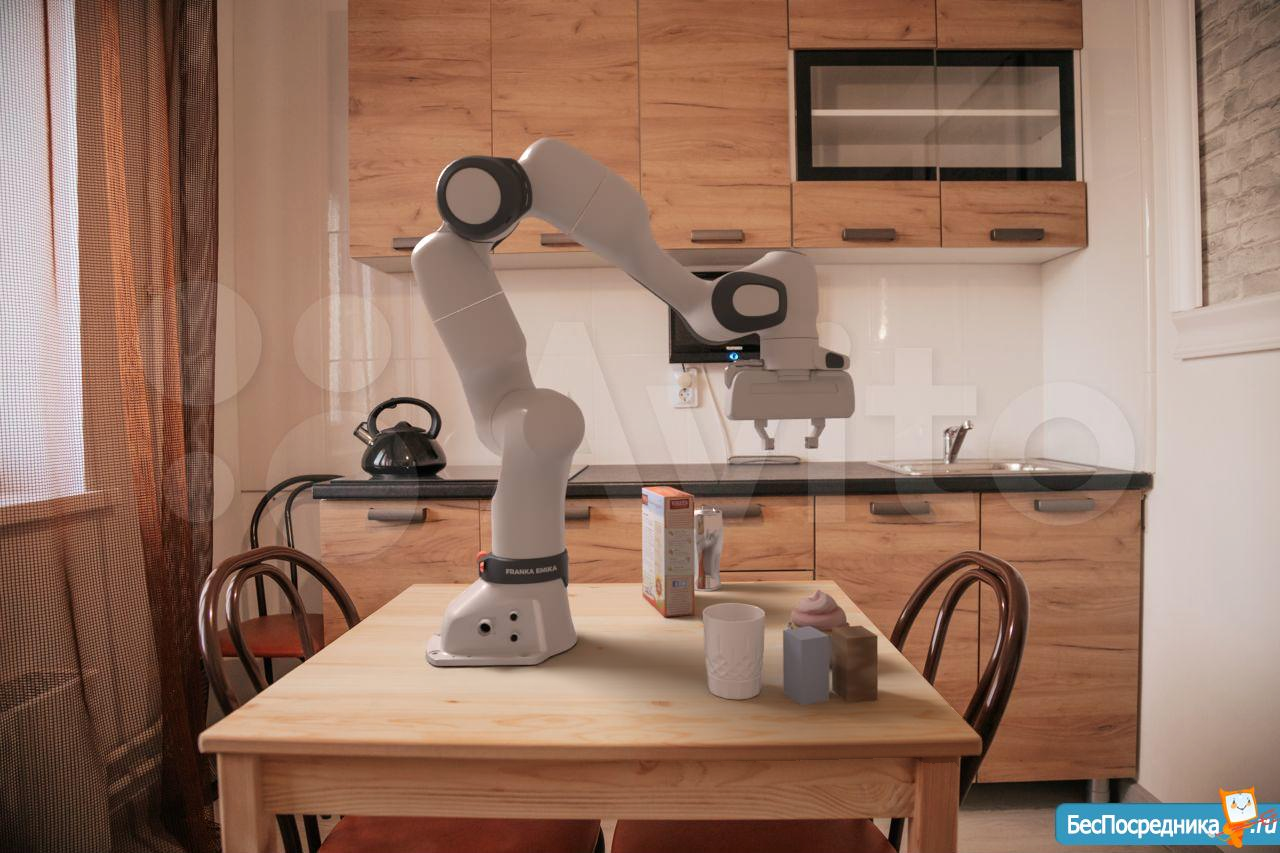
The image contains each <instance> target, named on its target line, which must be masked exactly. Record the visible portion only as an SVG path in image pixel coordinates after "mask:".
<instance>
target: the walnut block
mask: <svg viewBox="0 0 1280 853" xmlns="http://www.w3.org/2000/svg"><path fill="white" fill-rule="evenodd" d="M878 637H879V636H878V634H875V633H873V632H872V631H870V630H869V629H867V628H866V627H864V626H863V625H852V626H850V625H849V627H837V628H832V666H831V681H832V682H831V686H832V687H831V689H832V691H833V692H834V693H835V694H836V695H837V696H838V697H839V698H840V699H842V700H843V701H844V702H845V703H846V704H854V703H863V702H864V703H865V702H873V701H874V702H875V701H878V697H879V696H878V690H879V689H878V687H879V686H878V684H879V683H878V677H879V676H878V674H879V673H878V668H879V667H878V665H879V664H878V656H879V655H878V647H879V646H878V643H879V642H878V640H879V638H878Z"/></svg>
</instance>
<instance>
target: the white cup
mask: <svg viewBox="0 0 1280 853" xmlns="http://www.w3.org/2000/svg"><path fill="white" fill-rule="evenodd" d="M702 624H703V625H702V626H703V643H704V656H705V668H706V677H707V679H706V680H707V687H708V690H709V692H710V693H711V694H713V695H715V696H717V697H719V698H722V699H727V700H739V701H740V700H747V699H751V698H754V697H755V696H758V695H759V694H760V692H761V690H762V677H763V675H762V674H763V673H762V671H763V666H764V652H765V649H764V648H765V629H766V626H765V624H766V612H765V611H764V610H763V609H762V608H761V607H758V606H756V605H752V604H746V603H739V602H724V603H716V604H712V605H709V606H706V607H705V608H703V609H702Z"/></svg>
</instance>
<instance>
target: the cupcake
mask: <svg viewBox="0 0 1280 853" xmlns="http://www.w3.org/2000/svg"><path fill="white" fill-rule="evenodd" d="M846 615H847V614H846V612H845V610H843V608H842V607H841V606H839V605H838V604H837V601H836V600H835V599H834V598H833V597H832V596H831V595H829V594H828V593H825V592H823V591H821V590H820V589H816V590H815V591H814V593H813V595H812V596H811V597H806V598H804V599H801V601H800V602H798V605H797V606H796V608H795V609H793V610H792V611H791V614H790V621H788V622H786V623H785V625H786V627H787V629H794V628H800V627H807V626H811V627H813V628H815V629H817V630H819V631H821V632H823V633H825V634H827V635H829V667H832V628H837V627H849V626H850V622H847V616H846Z"/></svg>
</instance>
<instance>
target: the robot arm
mask: <svg viewBox="0 0 1280 853" xmlns="http://www.w3.org/2000/svg"><path fill="white" fill-rule="evenodd" d="M435 187H436V188H435V204H436V209H437V211H438V213H439V215H440V218H441V219H442V224H441V226H440V227H439V228H438V229H437V230H436V231H434V232H432V233H430V234H428V235H427V236H426V235H425V236H424V237H423V238H422V239H421V240H420V241H419V242H418V243H417V244H416V246H414V248H413V250H412V253H411V254H410V255H411V257H410V264H411V269H412V272H413V274H414V279H415V282H416V285H417V287H418V291H419V293H420V297H421V299H422V301H423V303H424V305H425V308H426V311H427V313H428V314H429V317H430V319H431V322H433V325H434V327H435V329H436V331H437V333H438V335H439V337H440V339H441V342H442V343H443V345H444V347H445V348H446V351H447V353H448V355H449V358H450V359H451V361H452V363H453V365H454V367H455V370H456V372H457V374H458V376H459V379H460V383H461V385H462V389H463V392H464V396H465V398H466V401H467V402H466V403H467V404H468V407H469V411H470V413H471V415H472V419H473V422H474V429H475V434H476V436H477V438H478V439H479V441H480V442H481V443H482V444H483V446H484V447H485V448H486V449H488V450H489V451H490V452H491V453H492V454H494V455H496V456H497V457H501V461H500V462H501V463H500V470H499V475H498V481H497V487H496V490H495V493H494V495H493V496H492V498H491V504H490V509H491V510H490V512H491V515H490V516H491V520H490V521H491V552H488V551H485V550H481V551H479V552H478V553H477V555H476V563H477V564H478V579H476V580H475V581H474V582H473V583H472V584H471V585H469V586H468V587H467V588H465V590H463V591H462V592H460V594H458V595H457V596H456V597H455V598H453V599H452V600H451V601H450V602H449V604H448V606H447V607H446V608H445V611H444V615H443V617H442V621H441V627H440V628H441V629H440V630H439V631H437V632H436V633H434V634H433V635H432V636H431V637H430V638H429V640H428V642H427V643H426V647H425V648H426V649H425V658H426V660H427V661H428V662H429V663H430V664H431V665H432V666H437V667H439V666H440V667H444V666H445V667H447V666H448V667H449V666H515V665H516V666H520V665H522V666H523V665H524V666H525V665H529V666H532V665H537V664H541V663H542V662H544V661H545V660H547V659H549V658H550V657H551V656H555V655H557V654H560V653H563V652H565V651H567V650H569V649H571V648H572V647H573V646H575V644H576V643H577V642H578V636H577V635H578V634H577V633H576V630H575V627H574V622H573V618H572V612H571V607H570V601H569V594H568V586H569V581H570V558H569V557H570V556H569V553H568V550H567V548H566V525H565V523H566V522H565V519H566V518H565V515H566V514H565V513H566V511H565V510H566V508H565V507H566V506H565V505H566V494H567V487H568V483H569V477H570V472H571V468H572V465H573V464H572V463H573V459H574V456H575V454H576V452H577V450H578V449H579V448H580V445H581V444H582V442H583V440H584V437H585V432H586V422H585V418H584V417H585V416H584V415H583V412H582V410H581V408H580V406H579V405H578V404H577V403H576V402H575V401H574V399H572V398H570V397H569V396H567V395H565V394H563V393H561V392H559V391H556V390H555V389H551V388H546V387H544V388H543V387H542V388H541V387H540V388H537V387H536V385H535V384H534V382H533V378H532V375H531V371H530V366H529V362H528V357H527V339H526V336H525V334H524V332H523V330H522V328H521V326H520V324H519V322H518V319H517V317H516V315H515V312H514V311H513V309H512V306H511V305H510V302H509V300H508V299H507V296H506V293H505V292H504V290H503V288H502V286H501V283H500V281H499V279H498V277H497V275H496V273H495V271H494V268H493V264H492V261H491V252H493V250H494V249H495V248H496V247H497V246H499V245H500V244H501V243H502V242H503V241H504V240H506V239H507V238H508V237H510V236H511V234H513V233H514V231H515V230H516V228H517V227H518V225H519V224H520V222H521V220H523V219H524V220H525V219H528V218H535V219H537V220H538V219H539V220H540V221H541V220H542V221H544V222H546V223H548V224H549V225H551V226H553V227H554V228H556V229H557V230H559V231H560V232H561V233H563V234H564V235H565V236H567V237H569V238H570V239H571V240H573V241H574V242H576V243H577V244H579V245H580V246H582V247H584V248H585V249H587V250H588V251H590V252H592V253H593V254H595V255H596V256H598V257H600V258H602V259H603V260H605V261H606V262H608V263H610V264H611V265H613V266H615V267H616V268H618V269H620V271H623V272H624V273H625V274H627V275H628V276H629V277H631V279H633V280H634V281H635V282H637V283H638V284H639V285H640V286H642V287H644V288H645V289H646V290H648V291H649V292H650V293H651V294H653V295H654V296H656V298H658V299H659V300H661V301H662V303H665V304H666V305H667V306H669V308H671V309H672V310H673V311H674V312H675V313H676V314H677V316H678V317H679V319H680V321H681V322H682V323H683V325H684V326H685V328H686V330H687V331H688V333H690V334H691V336H692V337H694V338H693V339H695V340H697V341H699V342H700V343H702V344H705V345H709V346H720V345H725V344H727V343H728V342H730V341H732V340H736V339H738V338H739V339H740V338H742V337H745V336H749V335H752V334H757V335H758V336H759V340H760V341H759V343H760V344H759V346H760V350H759V352H760V354H759V355H760V356H759V357H760V358H759V359H747V360H745V359H736V360H735V359H734V360H733V362H730V363H729V364H727V366H726V367H725V369H724V384H725V387H726V390H725V395H724V396H725V397H724V398H725V399H724V409H723V410H724V415H725V417H726V418H727V420H729V421H753V428H754V429H755V431H756V433H757V434H758V436H759V438H760V440H761V441H760V442H761V443H760V444H761V449H762V451H773V450H775V438H773V437H769V435H768V432H767V430H766V429H765V428H768V421H769V420H770V421H772V420H773V421H774V420H775V421H776V420H810V422H811V423H810V425H811V426H814V427H813V429H812V431H811V433H810V434H809V436H805V437H804V442H805V443H804V448H805V449H808V450H811V449H817V450H818V448H819V438H820V436H821V435H822V434H823V431H824V429H825V427H826V420H828V419H850V418H852V416H853V414H854V413H855V410H856V398H855V387H854V381H853V378H852V376H851V374H850V373H849V372H848V371H847V370H848V369H850V367H851V366H850V365H851V359H850V356H848V355H846V354H842V353H840V352H838V351H834V350H831V349H828V348H825V347H822V346H820V342H819V341H820V336H819V333H818V329H817V318H818V315H819V312H820V311H819V308H820V307H819V304H820V303H819V298H820V297H819V282H818V281H819V280H818V276H817V275H818V274H817V270H816V269H817V268H816V266H815V264H814V262H813V260H812V259H811V257H809V256H807V255H806V254H805V253H801V252H798V251H794V250H789V249H788V250H780V249H779V250H772V251H769V252H767V253H766V254H765V255H764V256H763V257H762V258H760V259H758V260H757V261H755V262H753V263H751V264H749V265H748V266H745V267H743V268H741V269H737V270H734V271H730V272H728V273H726V274H723V275H722V276H719V277H717V278H716V279H714V280H706V279H702V278H701V277H698V276H696V275H695V274H693V273H692V272H691V271H689V269H687V268H686V267H685V266H684V265H682V264H681V263H680V262H679V261H677V260H676V259H675V258H673V256H671V255H669V253H667V252H666V251H664V250H663V249H662V248H661V246H660V245H659V244H658V243H657V241H656V238H655V237H654V235H653V232H652V228H651V227H652V226H651V219H650V212H649V207H648V204H647V202H646V200H645V199H644V197H643V196H642V195H641V194H640V193H639V192H638V191H637V190H636V188H634V186H633V185H632V184H631V183H629V182H628V181H627V180H626V179H625V178H623V177H622V176H621V175H619V174H618V173H617V172H615V171H613V169H611V168H610V167H608V166H607V165H605V164H603V163H602V162H601V161H599V160H597V159H596V158H594V157H593V156H591V155H590V154H588V153H586V152H584V151H582V150H581V149H579V148H577V147H575V146H573V145H571V144H569V143H567V142H564V141H563V140H560V139H558V138H553V137H541V138H540V139H538V140H536V141H534V142H533V143H531V144H530V145H529V146H528V147H527V148H526V149H525V150H524V152H523V153H522V155H520V157H519V159H518V160H517V159H515V158H512V157H500V156H489V155H481V154H474V155H473V154H471V155H467V156H462V157H459V158H456V159H455V160H452V162H450V163H449V164H448V165H447V166H445V168H444V169H443V170H442V172H441V173H440V175H439V177H438V179H437V183H436V186H435Z"/></svg>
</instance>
